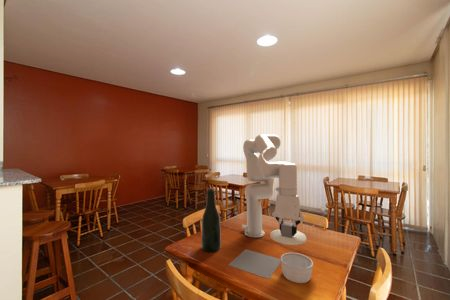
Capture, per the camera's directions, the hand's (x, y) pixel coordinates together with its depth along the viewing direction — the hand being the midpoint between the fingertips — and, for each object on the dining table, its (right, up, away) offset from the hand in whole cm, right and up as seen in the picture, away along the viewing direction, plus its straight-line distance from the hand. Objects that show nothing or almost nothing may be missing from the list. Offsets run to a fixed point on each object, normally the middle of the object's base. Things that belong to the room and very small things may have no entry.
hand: (288, 233), depth 94 cm
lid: (0, -2, 0) cm, 2 cm away
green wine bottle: (-35, -18, +24) cm, 46 cm away
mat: (-13, -18, +9) cm, 24 cm away
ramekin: (+3, -18, -1) cm, 18 cm away
